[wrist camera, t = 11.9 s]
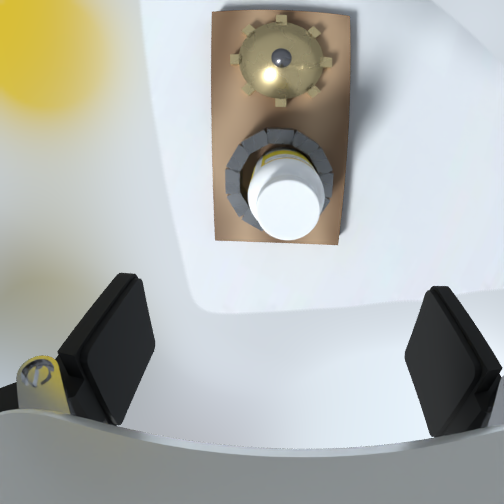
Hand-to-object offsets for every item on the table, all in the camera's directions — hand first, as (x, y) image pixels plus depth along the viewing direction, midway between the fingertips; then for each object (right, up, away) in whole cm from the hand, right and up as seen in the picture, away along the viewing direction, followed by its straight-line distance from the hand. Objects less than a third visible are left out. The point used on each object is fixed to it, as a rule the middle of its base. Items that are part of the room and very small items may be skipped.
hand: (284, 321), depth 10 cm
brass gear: (+1, +18, +14) cm, 23 cm away
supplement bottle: (+2, +9, +18) cm, 21 cm away
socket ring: (+1, +9, +18) cm, 20 cm away
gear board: (+2, +14, +18) cm, 22 cm away
